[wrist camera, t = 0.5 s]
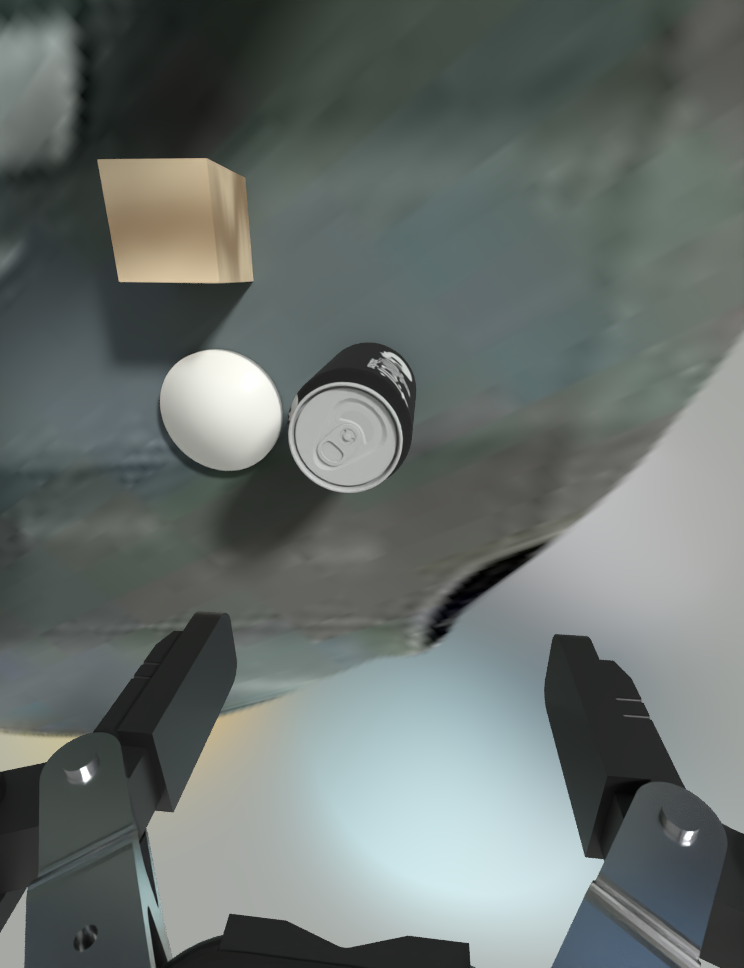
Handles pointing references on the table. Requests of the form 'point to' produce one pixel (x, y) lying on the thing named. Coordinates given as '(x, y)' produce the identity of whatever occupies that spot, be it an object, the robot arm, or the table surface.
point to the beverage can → (354, 419)
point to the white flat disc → (221, 409)
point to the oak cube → (177, 220)
